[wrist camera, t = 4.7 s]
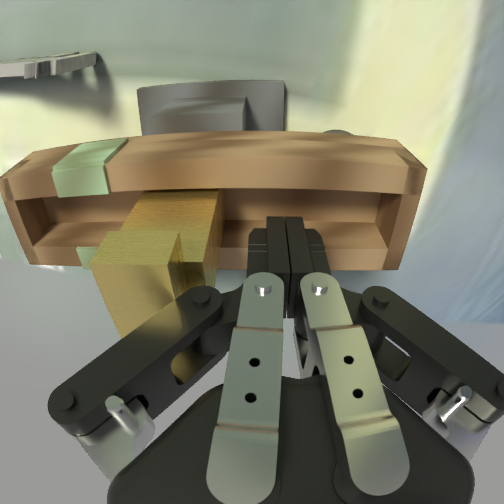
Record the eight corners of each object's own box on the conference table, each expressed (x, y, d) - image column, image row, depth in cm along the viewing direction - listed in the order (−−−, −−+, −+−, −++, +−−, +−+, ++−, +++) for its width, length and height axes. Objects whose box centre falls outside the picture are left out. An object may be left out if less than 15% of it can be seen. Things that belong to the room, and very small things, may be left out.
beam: (368, 87, 19) (438, 129, 11) (351, 208, 25) (389, 298, 17) (71, 100, 20) (-16, 149, 12) (95, 209, 26) (40, 289, 18)
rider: (222, 149, 15) (189, 265, 8) (226, 234, 18) (209, 368, 11) (151, 153, 15) (72, 263, 8) (165, 234, 18) (119, 360, 11)
